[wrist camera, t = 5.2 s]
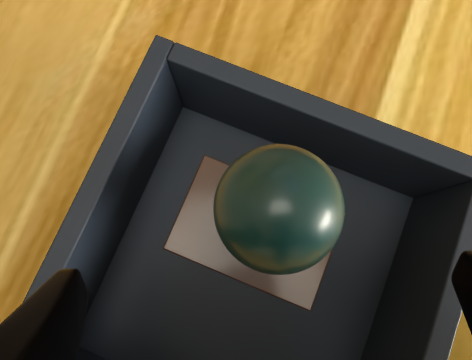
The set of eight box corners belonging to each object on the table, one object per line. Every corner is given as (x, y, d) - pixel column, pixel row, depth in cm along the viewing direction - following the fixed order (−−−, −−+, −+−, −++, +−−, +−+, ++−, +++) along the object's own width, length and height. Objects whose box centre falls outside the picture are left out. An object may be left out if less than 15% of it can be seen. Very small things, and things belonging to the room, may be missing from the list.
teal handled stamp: (326, 218, 18) (508, 156, 6) (296, 300, 17) (435, 412, 5) (209, 171, 18) (163, 24, 6) (175, 248, 17) (53, 246, 6)
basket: (428, 191, 18) (504, 167, 13) (335, 479, 16) (384, 588, 11) (176, 91, 19) (155, 33, 14) (54, 350, 17) (-25, 395, 12)
